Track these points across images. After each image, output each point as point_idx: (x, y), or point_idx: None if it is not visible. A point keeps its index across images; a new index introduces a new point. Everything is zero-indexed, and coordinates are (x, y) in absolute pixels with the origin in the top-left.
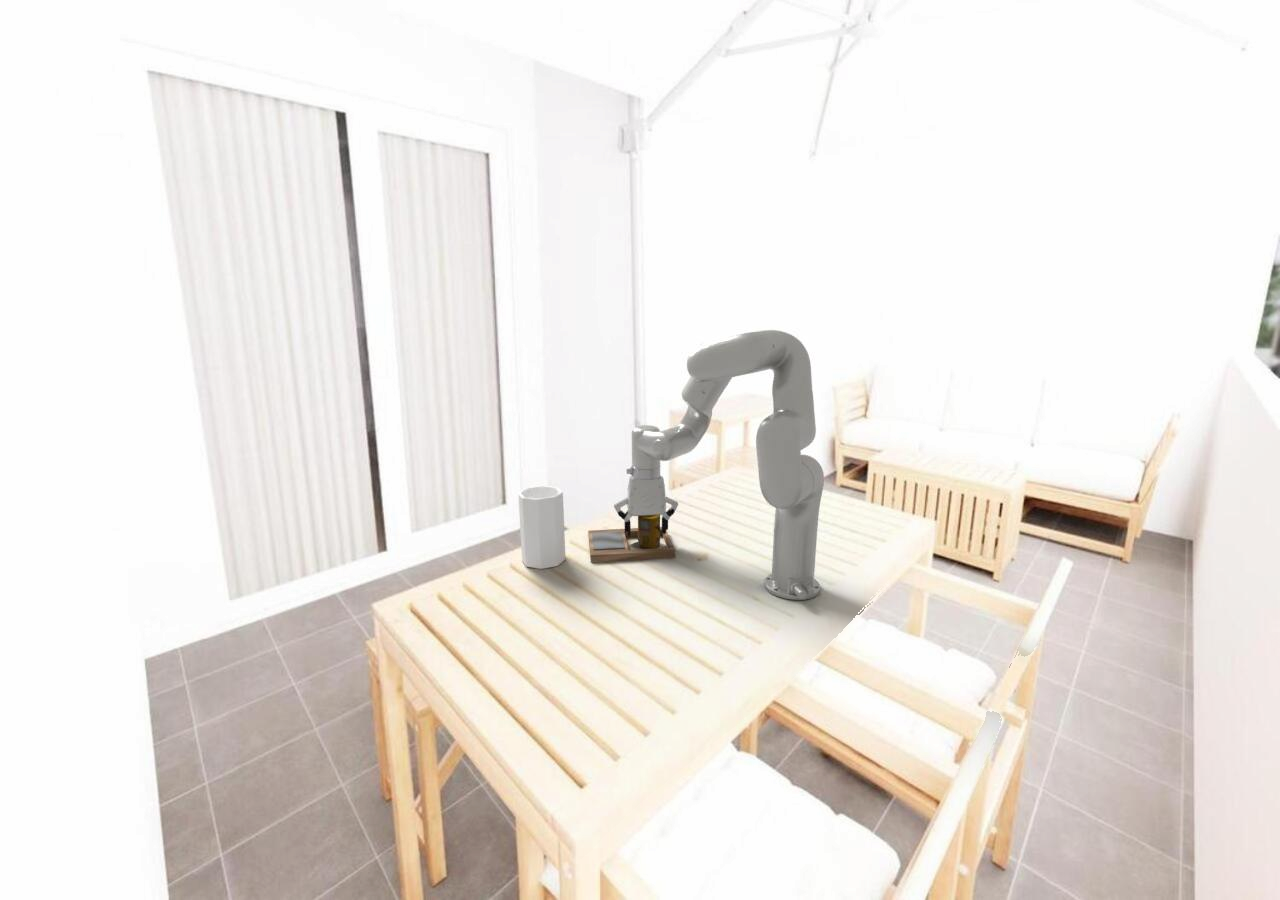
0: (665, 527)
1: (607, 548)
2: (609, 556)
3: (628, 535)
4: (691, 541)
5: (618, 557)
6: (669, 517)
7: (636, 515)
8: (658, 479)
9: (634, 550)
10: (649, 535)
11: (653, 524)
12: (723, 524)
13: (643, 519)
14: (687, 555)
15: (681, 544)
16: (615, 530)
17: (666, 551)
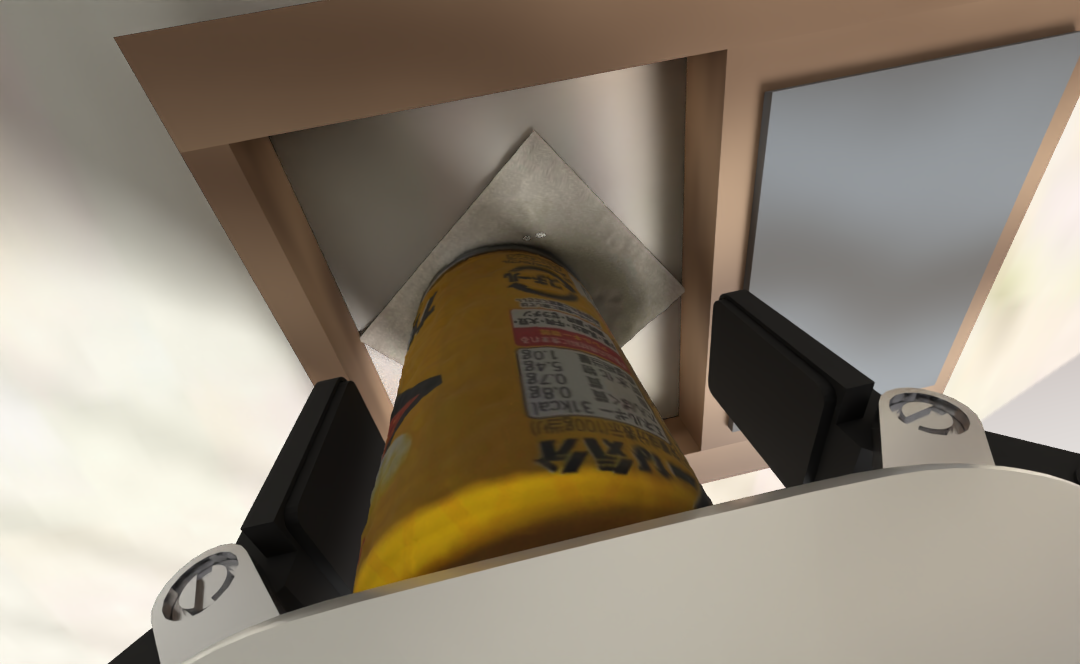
0: (297, 432)
1: (952, 58)
2: None
3: (736, 291)
4: (173, 430)
5: None
6: (158, 598)
7: (880, 474)
8: None
9: (663, 34)
10: (505, 301)
11: (453, 402)
12: (65, 657)
13: (645, 456)
14: (60, 128)
15: (237, 372)
16: (756, 455)
17: (244, 16)
